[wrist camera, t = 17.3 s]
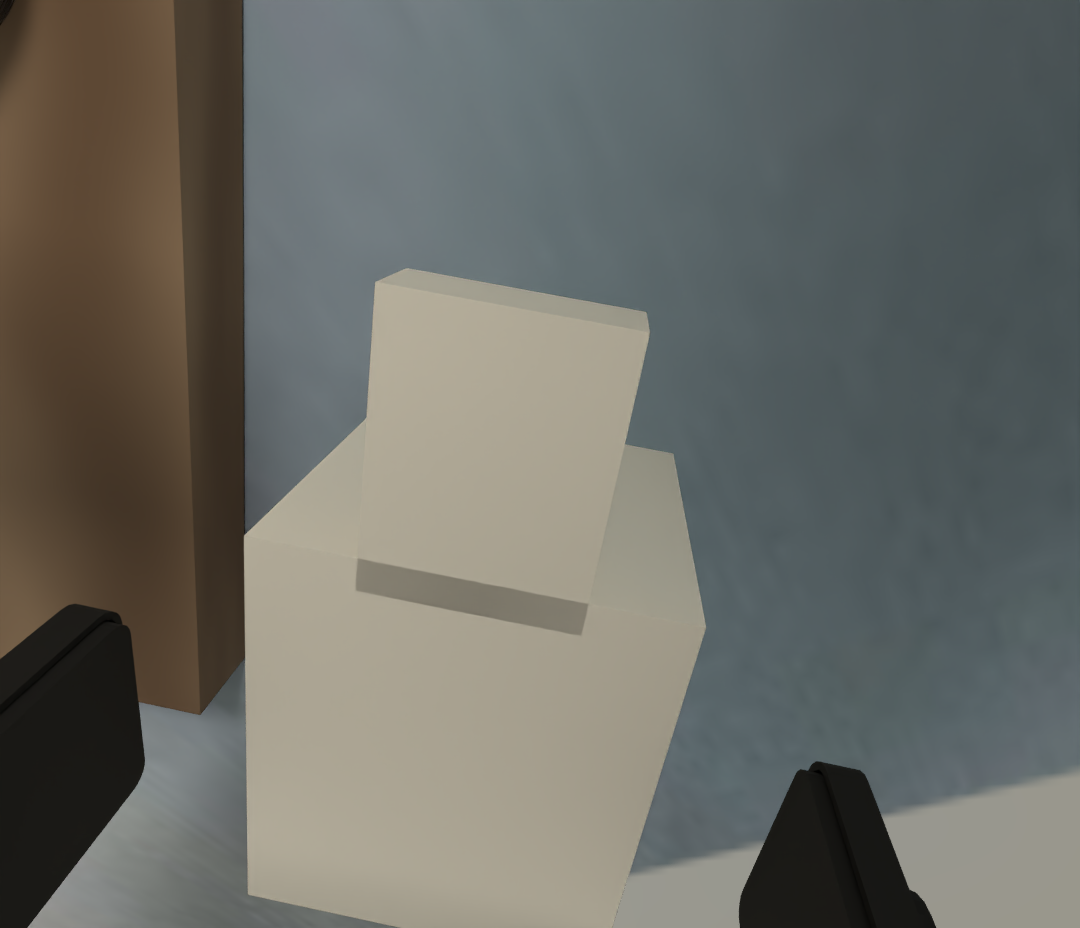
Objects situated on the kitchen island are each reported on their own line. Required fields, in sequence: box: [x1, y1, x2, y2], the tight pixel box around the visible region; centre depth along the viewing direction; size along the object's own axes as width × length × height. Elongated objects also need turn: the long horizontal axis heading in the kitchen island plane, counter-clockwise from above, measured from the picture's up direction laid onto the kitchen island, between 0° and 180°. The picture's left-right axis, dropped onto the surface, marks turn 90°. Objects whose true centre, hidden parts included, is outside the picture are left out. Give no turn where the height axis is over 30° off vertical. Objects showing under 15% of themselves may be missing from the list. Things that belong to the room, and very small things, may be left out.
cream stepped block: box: [244, 268, 706, 928], centre depth 12 cm, size 6×10×6 cm, turn 171°
